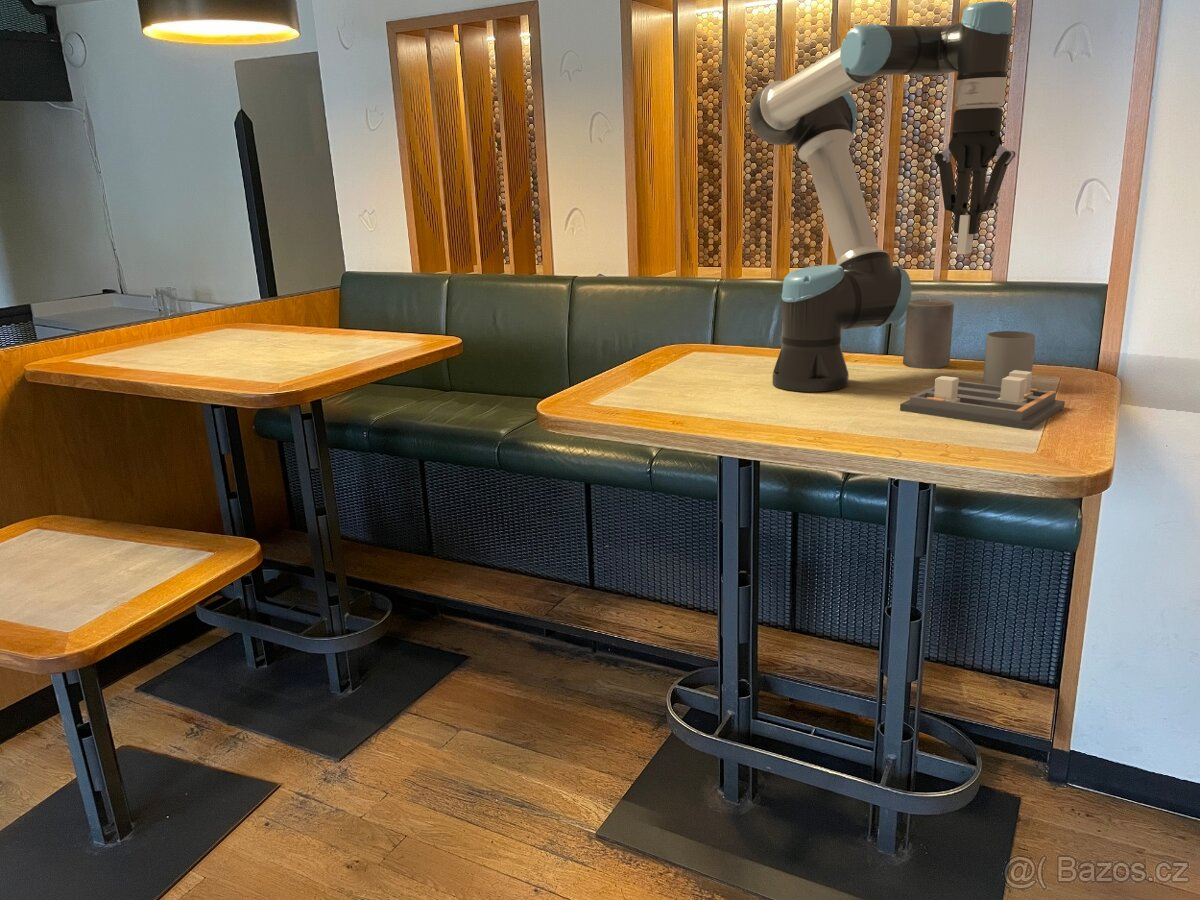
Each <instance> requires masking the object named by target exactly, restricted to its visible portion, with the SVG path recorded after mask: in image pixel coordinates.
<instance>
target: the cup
mask: <svg viewBox="0 0 1200 900" xmlns="http://www.w3.org/2000/svg"><path fill="white" fill-rule="evenodd" d="M1035 344H1036V334H1034V333H1032V332H1027V331H1026V332H1025V331H1020V330H1019V331H1016V330H1014V331H1013V330H999V331H990V332H988V333H987V334H986V341H985V353H984V366H983V377H982V384H989V385H997V386H1001V384H1002V379H1003V378H1005V377H1007V376H1009V373H1010V372H1012V371H1014V370H1019V371H1028V372H1032V373H1033V365H1034V364H1033V363H1034V356H1035V346H1036V345H1035Z"/></svg>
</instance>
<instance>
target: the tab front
mask: <svg viewBox="0 0 1200 900" xmlns="http://www.w3.org/2000/svg"><path fill="white" fill-rule="evenodd" d="M958 381H960V378H959V377H954V376H947V375H946V376H945V375H941V376H938V377H937V378H935V381H934V386H935V391H934V397H933V398H940V399H945V400H947V401H954V402H960V398H957V394H958Z"/></svg>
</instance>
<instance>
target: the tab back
mask: <svg viewBox="0 0 1200 900" xmlns="http://www.w3.org/2000/svg"><path fill="white" fill-rule="evenodd" d="M1009 376H1010V377H1019V378H1026V382H1025V391H1024V394H1029V395H1031V396H1033V392H1030V390H1031V389H1032V378H1033V371H1032V372H1028V371H1019V370H1014V371H1012V372H1010V373H1009Z"/></svg>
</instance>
